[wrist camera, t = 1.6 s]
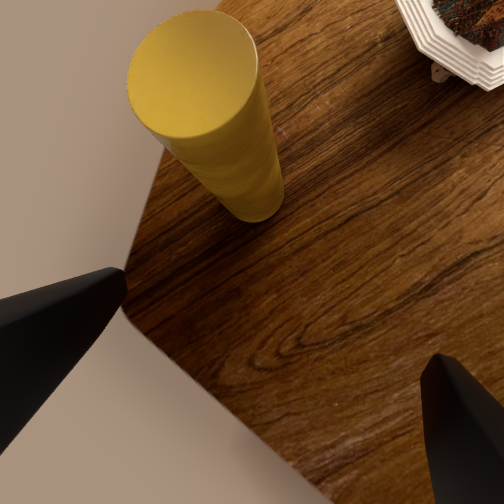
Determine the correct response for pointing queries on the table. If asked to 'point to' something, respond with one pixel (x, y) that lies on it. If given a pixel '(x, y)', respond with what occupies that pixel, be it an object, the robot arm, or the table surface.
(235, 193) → the yellow tall cylinder
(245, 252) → the table surface
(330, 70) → the table surface
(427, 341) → the table surface
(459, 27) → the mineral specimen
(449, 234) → the table surface
